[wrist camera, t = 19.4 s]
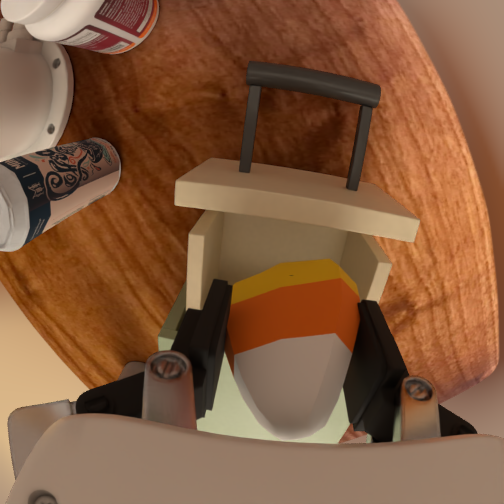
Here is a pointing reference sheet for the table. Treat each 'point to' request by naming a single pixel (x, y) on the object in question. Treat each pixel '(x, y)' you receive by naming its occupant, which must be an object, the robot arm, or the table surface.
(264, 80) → the drawer
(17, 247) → the beer can
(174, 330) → the cabinet
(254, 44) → the table surface
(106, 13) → the pill bottle
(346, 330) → the candy corn
